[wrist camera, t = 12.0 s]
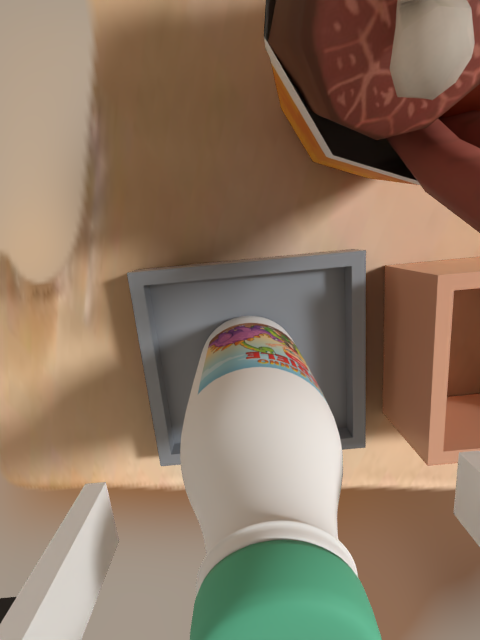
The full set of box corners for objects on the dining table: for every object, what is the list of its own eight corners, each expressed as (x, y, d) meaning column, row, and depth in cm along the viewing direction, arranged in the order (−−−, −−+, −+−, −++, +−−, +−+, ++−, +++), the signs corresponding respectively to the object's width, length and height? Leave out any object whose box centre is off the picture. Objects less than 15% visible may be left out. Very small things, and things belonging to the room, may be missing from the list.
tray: (137, 269, 26) (126, 272, 23) (353, 249, 26) (365, 250, 23) (166, 447, 30) (160, 466, 27) (354, 430, 30) (365, 447, 27)
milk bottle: (273, 415, 28) (362, 817, 9) (187, 384, 27) (72, 750, 8) (312, 334, 26) (532, 607, 7) (222, 298, 25) (185, 493, 6)
